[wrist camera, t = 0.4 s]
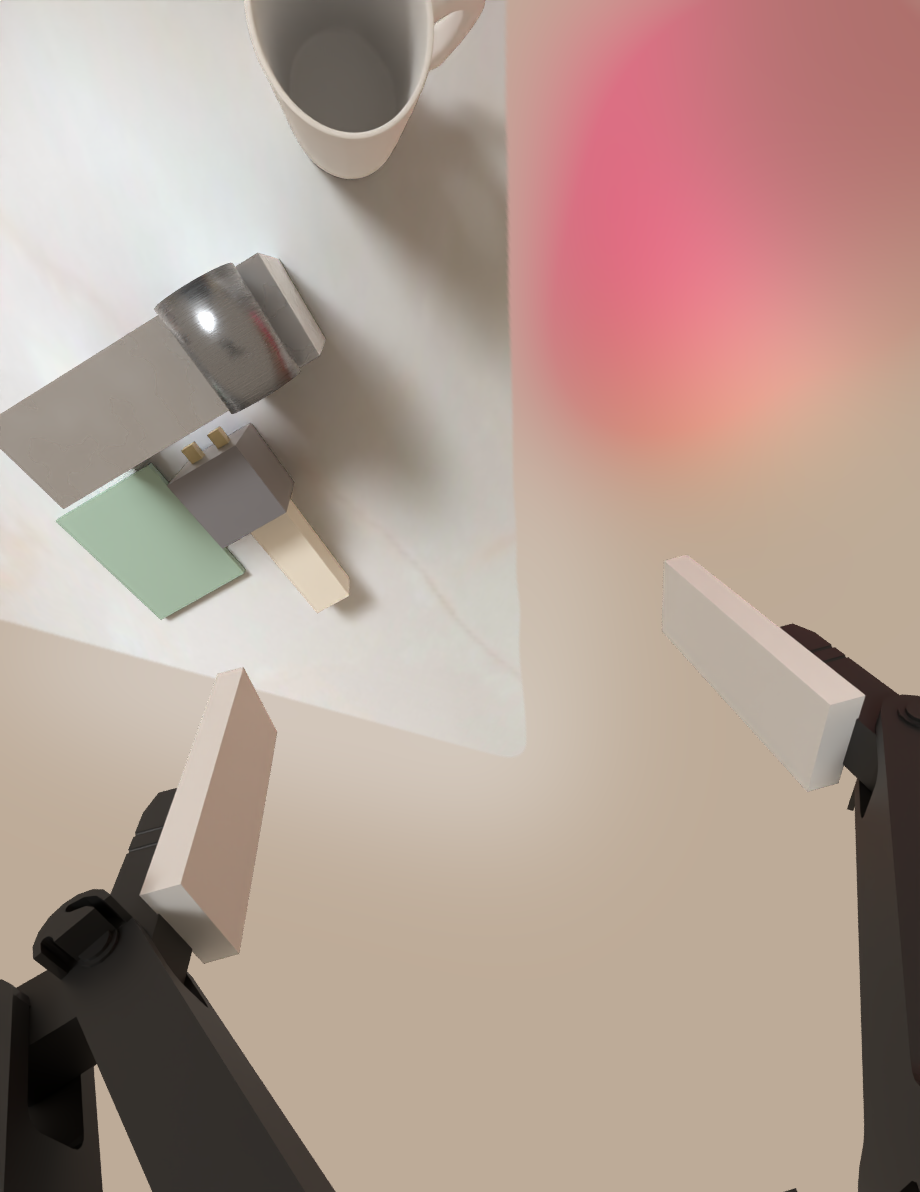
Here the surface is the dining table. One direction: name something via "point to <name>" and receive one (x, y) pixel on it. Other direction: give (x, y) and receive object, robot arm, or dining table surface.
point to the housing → (164, 379)
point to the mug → (353, 69)
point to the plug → (257, 510)
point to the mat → (151, 543)
